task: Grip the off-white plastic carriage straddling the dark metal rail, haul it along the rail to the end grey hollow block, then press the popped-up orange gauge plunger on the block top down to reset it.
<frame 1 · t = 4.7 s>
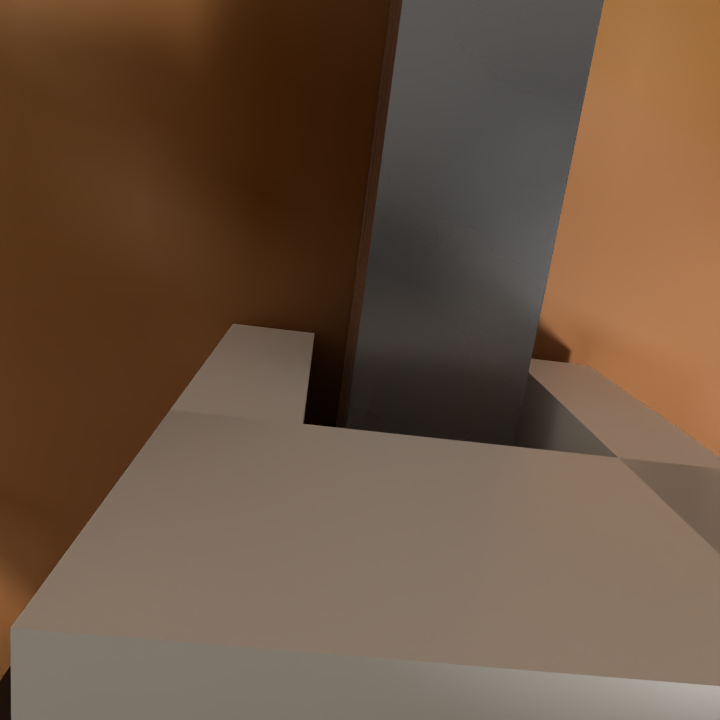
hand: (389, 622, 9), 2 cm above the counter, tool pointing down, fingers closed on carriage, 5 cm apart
carriage: (404, 715, 7), point 4 cm above the counter, slide at 0.0 cm, touching gripper
rail: (433, 207, 9), on the counter
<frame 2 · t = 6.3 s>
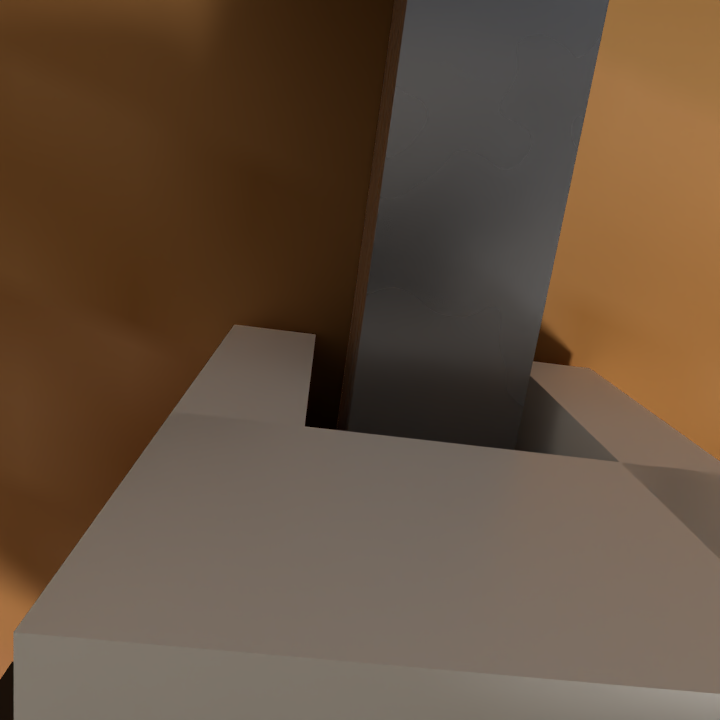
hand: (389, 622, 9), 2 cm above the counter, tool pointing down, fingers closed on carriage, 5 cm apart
carriage: (403, 718, 7), point 4 cm above the counter, slide at 6.2 cm, touching gripper
rail: (375, 581, 11), on the counter
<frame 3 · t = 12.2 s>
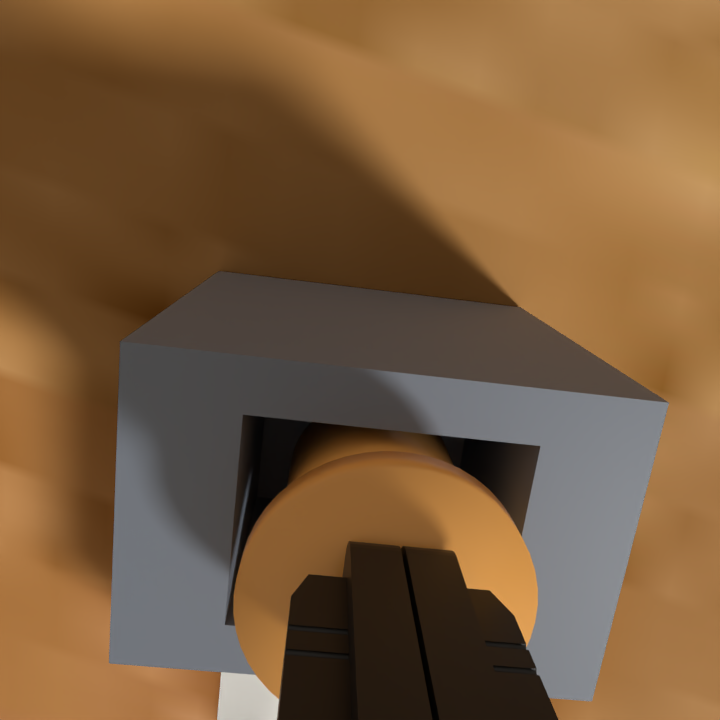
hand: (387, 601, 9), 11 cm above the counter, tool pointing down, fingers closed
carriage: (330, 676, 18), point 4 cm above the counter, slide at 10.5 cm
grey hollow block: (359, 385, 20), on the counter
plunger: (376, 528, 12), point 9 cm above the counter, slide at 1.1 cm, touching gripper
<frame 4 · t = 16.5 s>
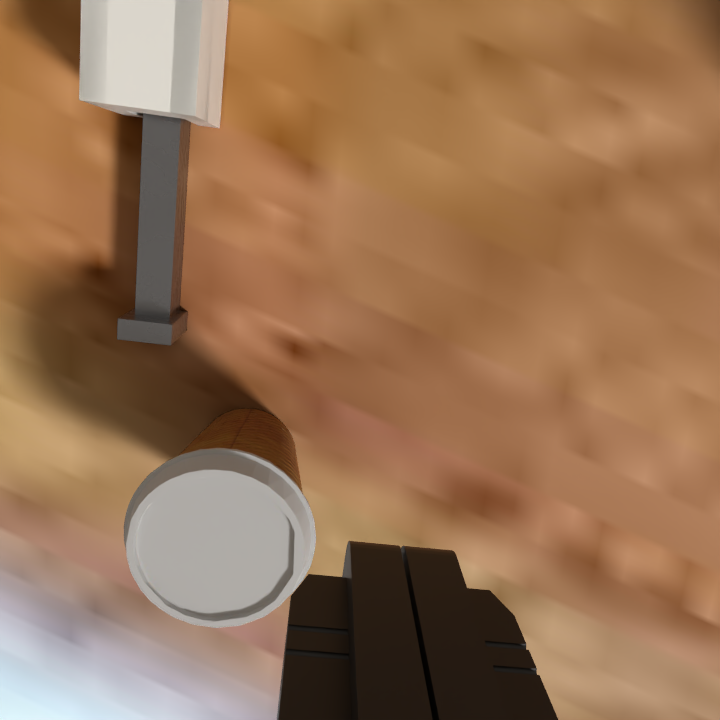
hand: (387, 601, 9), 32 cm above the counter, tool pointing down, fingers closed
disposable coffee cup: (248, 451, 43), on the counter
carriage: (160, 43, 33), point 4 cm above the counter, slide at 10.5 cm
rail: (171, 148, 38), on the counter
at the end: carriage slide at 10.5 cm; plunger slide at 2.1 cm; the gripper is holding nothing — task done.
